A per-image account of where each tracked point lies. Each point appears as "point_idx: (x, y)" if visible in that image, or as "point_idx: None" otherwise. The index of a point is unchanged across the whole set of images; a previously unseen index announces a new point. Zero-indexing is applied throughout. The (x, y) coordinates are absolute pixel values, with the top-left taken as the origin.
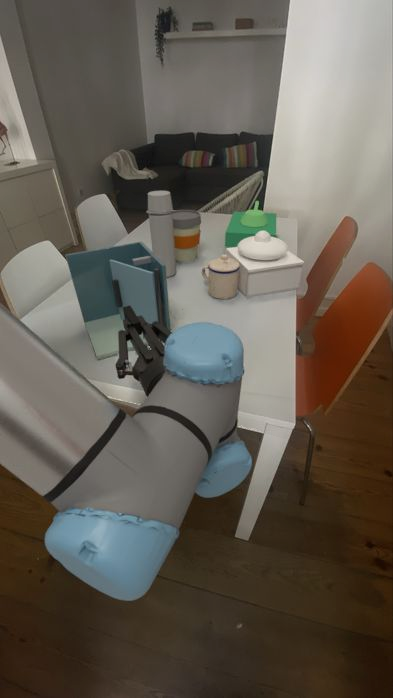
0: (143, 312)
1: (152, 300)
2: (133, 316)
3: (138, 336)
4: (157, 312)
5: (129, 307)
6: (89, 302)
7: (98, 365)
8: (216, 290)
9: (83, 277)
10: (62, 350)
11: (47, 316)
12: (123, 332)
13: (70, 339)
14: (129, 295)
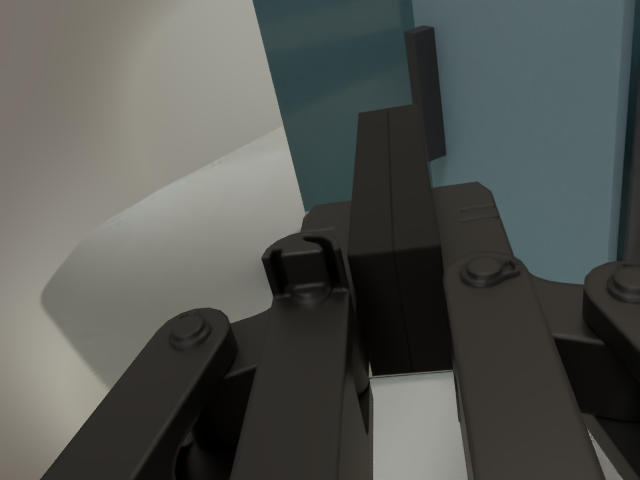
0: (535, 189)
1: (599, 116)
2: (397, 181)
3: (318, 478)
4: (619, 193)
5: (404, 115)
6: (324, 135)
7: None
8: None
9: (303, 27)
10: (187, 306)
11: (225, 181)
12: (200, 344)
13: (236, 267)
14: (476, 100)
